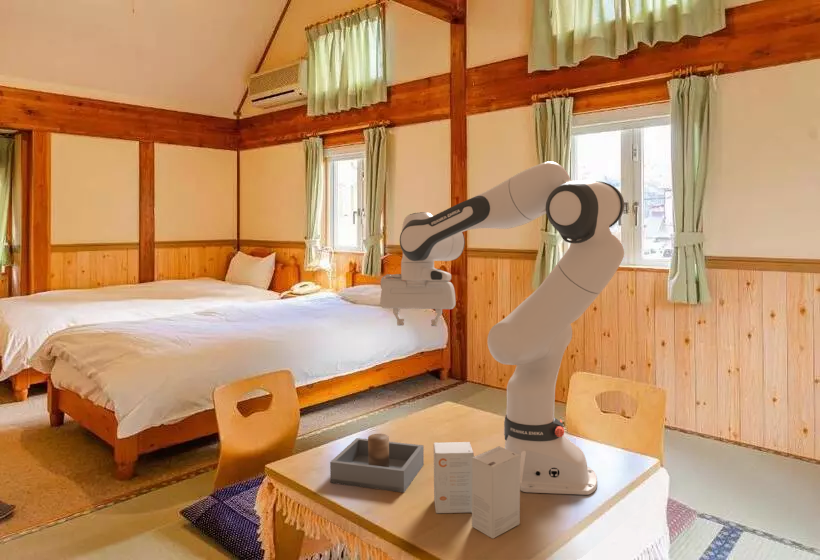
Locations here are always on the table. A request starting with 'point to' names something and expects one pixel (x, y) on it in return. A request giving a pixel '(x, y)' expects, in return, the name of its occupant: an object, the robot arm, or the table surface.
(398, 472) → the tote
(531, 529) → the table surface
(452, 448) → the small box
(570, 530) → the table surface
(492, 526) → the skincare box
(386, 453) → the walnut cylinder
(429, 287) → the robot arm
